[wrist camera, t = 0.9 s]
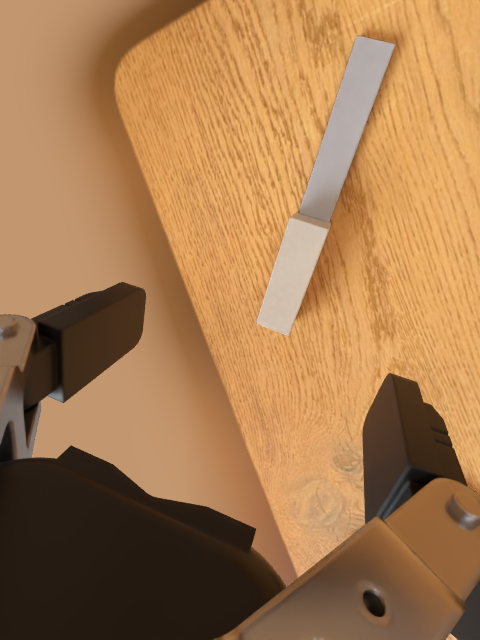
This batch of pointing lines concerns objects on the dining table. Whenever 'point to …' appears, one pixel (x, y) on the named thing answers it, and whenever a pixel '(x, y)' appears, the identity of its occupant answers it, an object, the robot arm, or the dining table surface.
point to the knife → (324, 184)
